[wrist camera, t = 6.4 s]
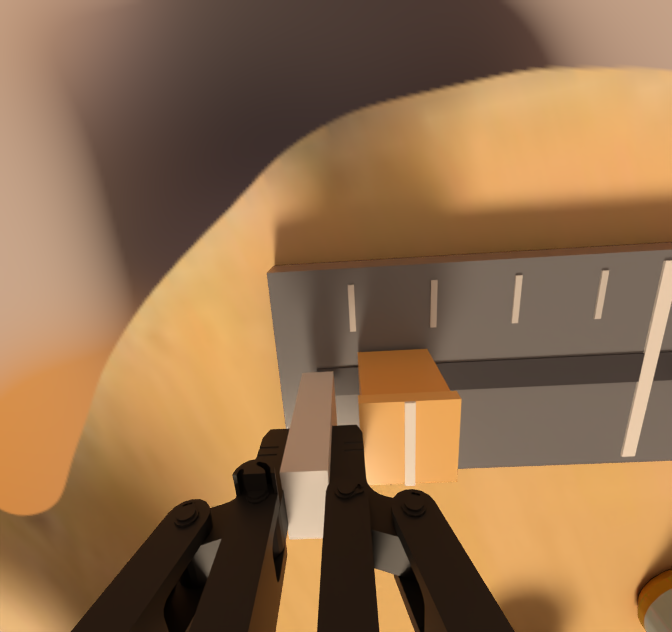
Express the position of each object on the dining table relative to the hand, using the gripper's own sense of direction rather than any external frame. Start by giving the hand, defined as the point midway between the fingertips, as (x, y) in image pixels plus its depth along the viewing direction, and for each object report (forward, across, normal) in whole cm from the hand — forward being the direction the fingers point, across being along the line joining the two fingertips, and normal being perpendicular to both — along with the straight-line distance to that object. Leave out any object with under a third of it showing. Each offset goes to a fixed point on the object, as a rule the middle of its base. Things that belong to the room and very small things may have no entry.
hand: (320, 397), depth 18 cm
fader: (+1, +4, 0) cm, 4 cm away
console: (+4, +10, 0) cm, 10 cm away
